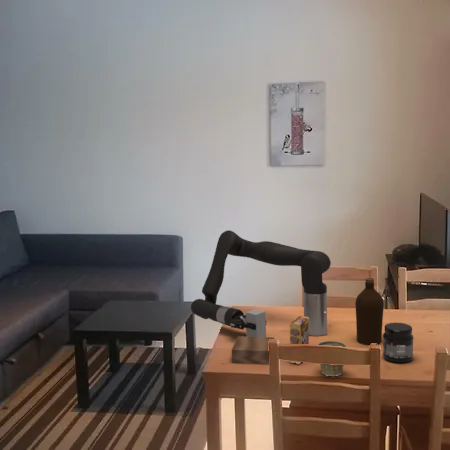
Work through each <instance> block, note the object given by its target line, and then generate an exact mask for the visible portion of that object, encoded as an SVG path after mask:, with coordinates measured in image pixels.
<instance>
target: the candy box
mask: <svg viewBox="0 0 450 450" xmlns="http://www.w3.org/2000/svg"><path fill="white" fill-rule="evenodd" d="M289 324H290V325H289V329H290V330H289V331H290V332H289V345H290V344H310V342H309V340H310V339H309V337H310V335H309V318H308V317H304V315H303V316H301V315H299V316H298V317H296V318H295V319H294V320H293V321H291V322H290V323H289ZM294 363H296V362H294Z"/></svg>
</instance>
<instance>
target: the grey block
mask: <svg viewBox="0 0 450 450" xmlns="http://www.w3.org/2000/svg"><path fill="white" fill-rule="evenodd" d="M266 312H267V311H266V310H265V311H264V310H261V309H257V308H254V309H251V310H248V311H245V314H246V321H247V322H248V323H253V324H256V330H253V329H249V328H248V329H246V328H245V332H246V336H245V337H267V327H266V326H267V325H266V324H267V319H266V317H267V316H266Z"/></svg>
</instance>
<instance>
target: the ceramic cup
mask: <svg viewBox="0 0 450 450" xmlns="http://www.w3.org/2000/svg"><path fill="white" fill-rule="evenodd" d="M317 345H332V346H342V347H347V348H348V345H347V344H346V343H344V342H342V341H338V340H322V341H320V342H318V343H317V344H316V346H317ZM319 364H320V363H319ZM344 366H345V365H330V364H320V369H321V374H322V373H323V374H325V375H328V376H336V375H342V374H341V373H343V369H344ZM323 374H322V375H323ZM325 375H324V376H325Z"/></svg>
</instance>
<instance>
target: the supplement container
mask: <svg viewBox="0 0 450 450" xmlns="http://www.w3.org/2000/svg"><path fill="white" fill-rule="evenodd" d="M382 339H383V341H382V342H383V345H382V347H383V348H382V350H383V351H382V357H383V359H385V360H386V361H387V362H390V361H391V363H394V362H396V363H395V364H405V362H406V363H409V362H411V361H412V360H413V359H414V335H413V326H411V325H410V324H407V323H404V322H389V323H386V324H385V325H384V332H383V333H382Z"/></svg>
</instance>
